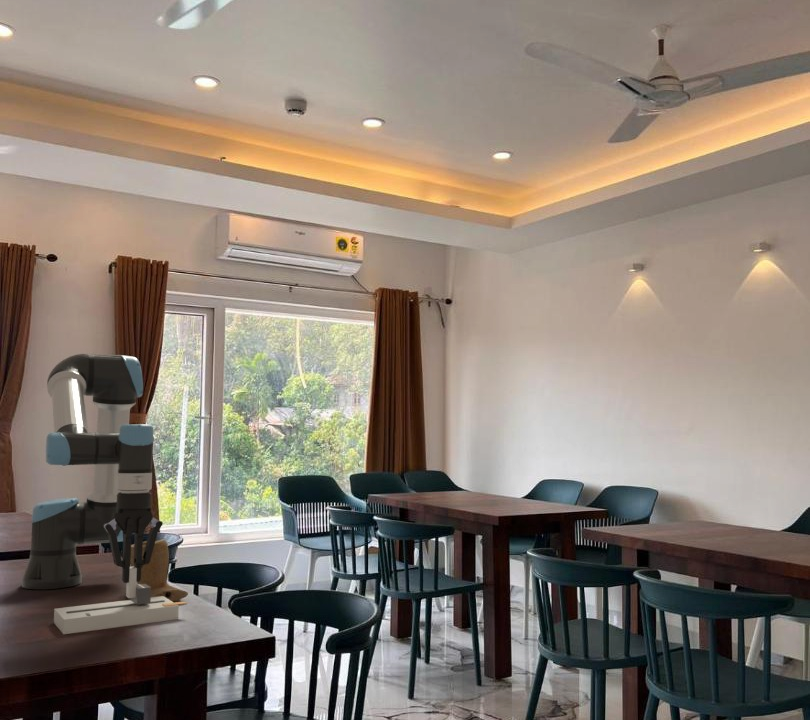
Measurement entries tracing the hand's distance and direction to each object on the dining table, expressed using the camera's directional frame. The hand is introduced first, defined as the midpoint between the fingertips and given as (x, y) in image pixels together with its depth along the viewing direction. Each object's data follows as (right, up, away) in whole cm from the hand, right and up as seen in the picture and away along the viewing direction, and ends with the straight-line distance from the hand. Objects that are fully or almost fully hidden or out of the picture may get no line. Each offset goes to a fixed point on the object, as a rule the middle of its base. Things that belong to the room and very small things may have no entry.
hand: (130, 596), depth 173 cm
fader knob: (+2, -2, +1) cm, 3 cm away
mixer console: (-2, -5, -2) cm, 5 cm away
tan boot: (-1, -7, +19) cm, 20 cm away
